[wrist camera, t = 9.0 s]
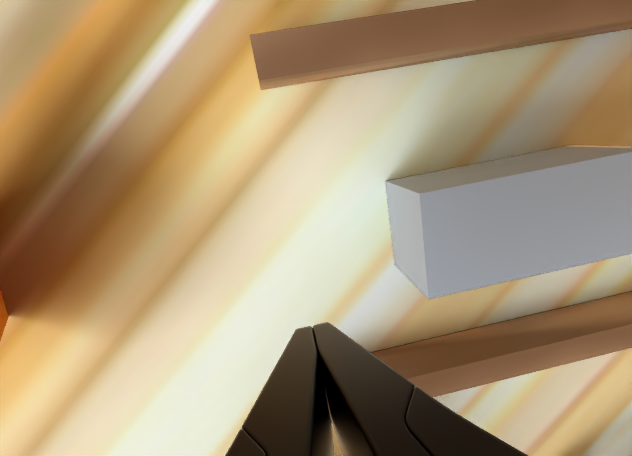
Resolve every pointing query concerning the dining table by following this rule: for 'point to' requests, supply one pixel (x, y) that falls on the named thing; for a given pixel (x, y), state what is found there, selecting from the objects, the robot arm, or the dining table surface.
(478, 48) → the rail pen
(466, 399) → the dining table surface
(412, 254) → the long block
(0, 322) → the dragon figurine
